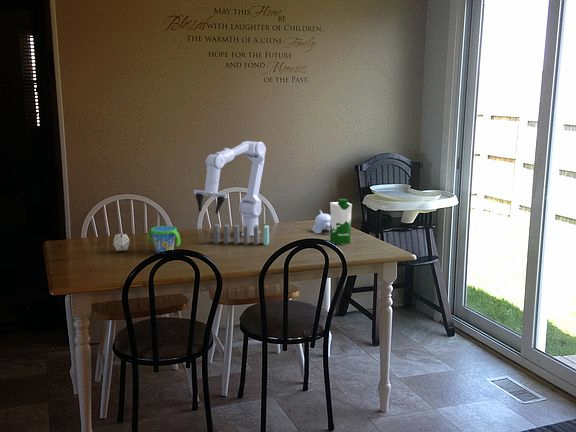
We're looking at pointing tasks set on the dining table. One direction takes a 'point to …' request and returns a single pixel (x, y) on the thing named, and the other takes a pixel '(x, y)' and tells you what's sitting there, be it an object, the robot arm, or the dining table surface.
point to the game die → (121, 242)
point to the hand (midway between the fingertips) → (208, 212)
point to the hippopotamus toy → (322, 222)
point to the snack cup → (164, 238)
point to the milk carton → (340, 221)
